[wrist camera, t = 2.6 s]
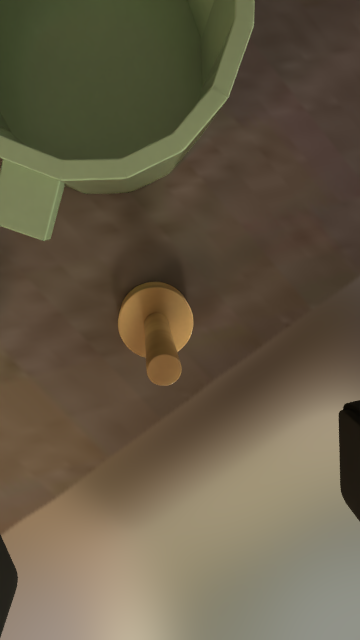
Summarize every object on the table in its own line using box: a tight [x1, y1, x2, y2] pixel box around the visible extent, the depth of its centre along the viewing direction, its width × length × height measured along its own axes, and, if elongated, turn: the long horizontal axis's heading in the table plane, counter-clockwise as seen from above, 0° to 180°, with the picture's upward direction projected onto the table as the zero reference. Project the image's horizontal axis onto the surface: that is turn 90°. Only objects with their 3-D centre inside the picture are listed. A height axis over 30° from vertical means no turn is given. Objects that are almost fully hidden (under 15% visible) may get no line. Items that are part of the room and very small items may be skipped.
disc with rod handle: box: [118, 282, 193, 386], centre depth 19 cm, size 5×5×9 cm
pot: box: [0, 0, 255, 241], centre depth 15 cm, size 14×19×8 cm
